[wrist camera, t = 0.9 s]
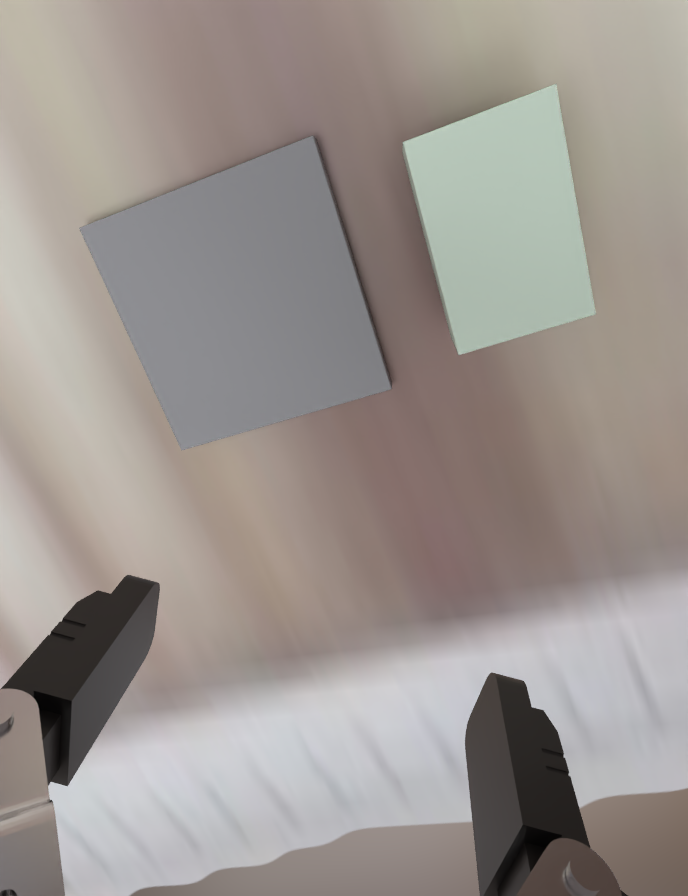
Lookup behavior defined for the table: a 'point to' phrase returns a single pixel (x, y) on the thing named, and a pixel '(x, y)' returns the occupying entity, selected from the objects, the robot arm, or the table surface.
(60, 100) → the table surface
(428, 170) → the mint green toy brick
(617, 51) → the table surface
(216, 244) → the mat
